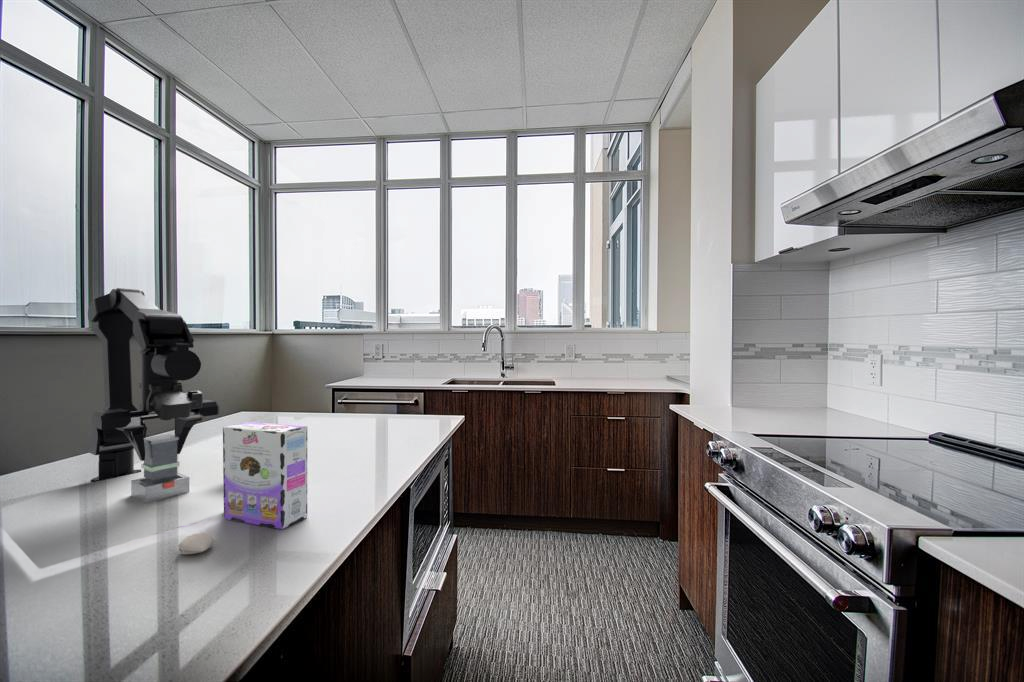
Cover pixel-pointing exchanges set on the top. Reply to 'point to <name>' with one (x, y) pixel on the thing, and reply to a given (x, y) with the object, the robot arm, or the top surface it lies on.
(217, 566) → the top surface
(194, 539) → the white rounded lump
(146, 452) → the column
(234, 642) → the top surface
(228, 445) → the candy box
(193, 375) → the robot arm
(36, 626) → the top surface
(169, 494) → the stand base
